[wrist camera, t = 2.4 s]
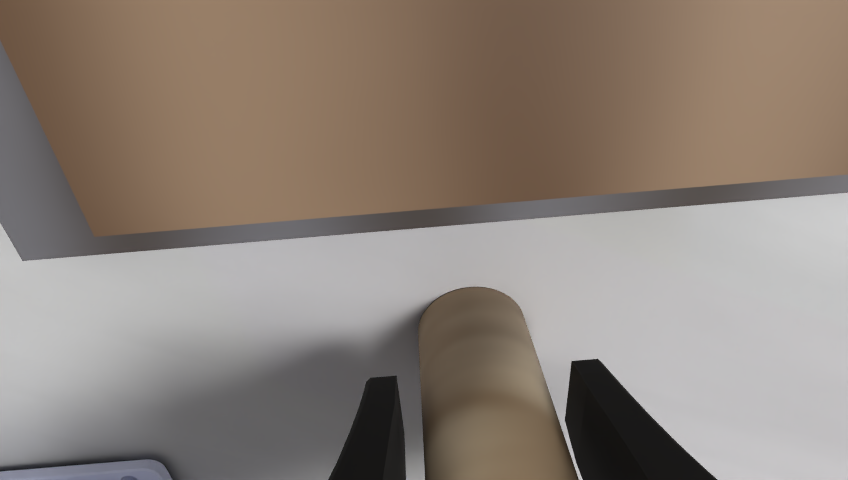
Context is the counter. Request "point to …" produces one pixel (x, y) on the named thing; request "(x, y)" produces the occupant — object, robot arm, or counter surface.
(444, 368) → the peg
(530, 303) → the counter surface
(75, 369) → the counter surface
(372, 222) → the holder
